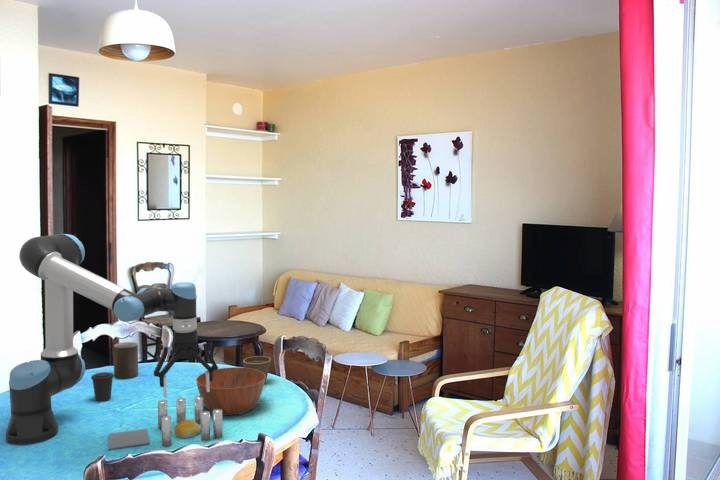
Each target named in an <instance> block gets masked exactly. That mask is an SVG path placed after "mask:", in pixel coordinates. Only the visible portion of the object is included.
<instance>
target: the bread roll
mask: <svg viewBox="0 0 720 480" xmlns="http://www.w3.org/2000/svg"><path fill="white" fill-rule="evenodd" d="M173 431H174V436H175V437H176V438H179V439H188V438H189V439H190V438H193V437H196V436H198V435H199V434H200V433H201V426H200V424H197V423H196V422H195V420H192V419H186V420H183V421H181V422H179V423H178V424H177V423H176V424H175V426H174V429H173Z"/></svg>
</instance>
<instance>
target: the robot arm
mask: <svg viewBox="0 0 720 480" xmlns="http://www.w3.org/2000/svg"><path fill="white" fill-rule="evenodd" d="M18 255H19V261H20V264H21V266H22V267H23V269H25V270H26V271H27V272H28V273H29V274H31V275H32V276H35V277H37V278H39V279H41V280H43V281H44V301H45V303H44V308H45V309H44V312H45V315H44V316H45V317H44V318H45V320H44V321H45V330H44V331H45V348H44V349H43V350H42V351H41V352H40V359H34V360H30V361H25V362H22V363H19V364H18V365H16V366H13V368H12V369H11V370H10V371H9V380H8V387H9V404H10V418H9V421H8V424H7V427H6V430H5V441H6V443H8V444H10V443H11V445H16V446H17V445H18V446H19V445H21V446H24V445H31V444H37V443H40V442H41V443H42V442H44V441H47V440H50V439H52V438H54V437H55V436H56V435H57V434H58V433H59V424H58V421H57V419H56V417H55V414H54V412H53V409H52V397H53V396H54V395H57V394H59V393H61V392H64V391H66V390H68V389H71V388H73V387H74V386H75V385H77V384H79V382H81V380H82V379H83V378H84V377H85V373H86V363H85V360H84V359H82V358H83V357H82V356H81V355H80V354H79V350H78V349H77V348H76V347H75V346H74V292H75V293H77V294H78V295H80V296H81V295H82V296H83V297H85V298H87V299H89V300H91V301H93V302H95V303H97V304H99V305H101V306H104V307H105V308H108V309H110V310H111V311H113V313H114V315H115V316H116V318H117V320H119V321H120V322H123V323H127V322H128V323H129V322H134V321H137V320H139V319H141V318H144V317H146V316H148V315H149V316H150V315H153V314H155V313H157V312H165V313H166V312H167V313H168V312H169V313H171V312H172V330H173V332H172V334H173V335H172V337H173V338H172V339H173V343H172V346H167V345H164V346H163V348H162V349H163V350H162V353H161V356H160V358H159V360H158V362H157V365H156V366H155V368H154V370H153V376H154V377H156V378H159V387H160V388H163V397H164V398H168V397H167V396H168V395H167V393H168V392H167V391H168V390H167V376H166V374H168V371H170V369H171V368H172V367H173V366H174V364H175V363H176V362H177V361H178V360H179V359H180V360H185V359H192V358H194V359H196V360H197V361H198V362H199V363H200V364H201V365H202V366H203V367H204V368H205V369H206V370H205V372H206V391H207V392H210V388H209V381H212V380H213V376H212V372H213V371H214V370H217V369H219V366H218V365H217V363H216V362H215V360H214V357H213V356H212V354H211V353H210V351H209V349H208V348H209V347H208V346H209V345H208V344H207V342H206V341H203V342H201V343H198V331H197V330H198V329H197V328H198V323H197V321H198V320H197V319H198V318H197V297H198V296H197V290H196V287H197V286H196V285H195V283H193V282H189V281H184V282H183V281H182V282H175V283H172V285H171V288H160V287H158V288H157V287H152V286H151V287H142V288H140V289H139V291H137V293H136V292H135V293H134V292H133V291H130V290H128V289H126V288H124V287H122V286H120V285H119V284H116V283H115V282H112V281H110V280H108V279H106V278H104V277H102V276H100V275H98V274H96V273H94V272H92V271H90V270H88V269H86V268H83V267H82V266H80V265H81V263H82V262H83V261H84V259H85V255H86V251H85V247H84V244H83V242H82V241H80V240H79V238H77V236H75V235H73V234H70V233H69V234H68V233H56V234H50V235H42V236H41V235H40V236H35V237H32V238H30V239H28V240H27V241H25V242H24V243H23V244H22V245H21V248H20V250H19V254H18ZM199 349H200V350H202V351H204V353H205V355H206V356H207V358H208V360H209V362H210V363H211V366H210V364H208V362H206V361H205V359H204V358H202V357H201V356H200V355H199V353H198V352H197V351H198V350H199ZM171 351H172V352H173V353H174V354H173V355H172V357H171V358H170V359H169V360H168V362H167V363H166V365H164V363H165V361H166V358H167V357H168V355H169V354H170V353H171ZM163 365H164V366H163ZM162 367H163V368H162Z"/></svg>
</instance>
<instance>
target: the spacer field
mask: <svg viewBox="0 0 720 480" xmlns="http://www.w3.org/2000/svg"><path fill="white" fill-rule="evenodd" d="M175 403H176V405H175V407H176V408H175V409H176V425H177V424H178V423H179V422H181V421H183V420H187V416H186V415H187V414H186V413H187V412H186V410H187V408H186V404H187V403H186V398H185V397H179V398H176V401H175ZM204 406H205V405H204V401H203V396H200V395H197V396H194V421H195V422H196V423H197V424H198V425H200V441H201V442H203V443H204V442H209V441H211V411H209V410H204V409H205V408H204ZM157 426H158V427H157V428H158V430H161V432H160V433H161V447H162V448H169V447H171V446H173V445H172V444H173V442H172V440H173V439H172V437H173V435H172V416H171V415H168V400H166V399H165V400H163V399H162V400H158V401H157ZM223 429H224V427H223V415H222V409H214V410H213V412H212V438H213V439H215V440H219V439H222V438H223Z"/></svg>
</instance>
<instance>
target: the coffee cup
mask: <svg viewBox="0 0 720 480" xmlns="http://www.w3.org/2000/svg"><path fill="white" fill-rule="evenodd" d="M113 378H114V373H113V372H109V371H107V372H106V371H104V372H96V373H95V374H94V373H93V374H92V375H91V376H90V379H91V380H92V385H93V392H94V399H95V401H96V402H99V403H101V402H107V401H110V400H112V399H111V397H112V387H113Z"/></svg>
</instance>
